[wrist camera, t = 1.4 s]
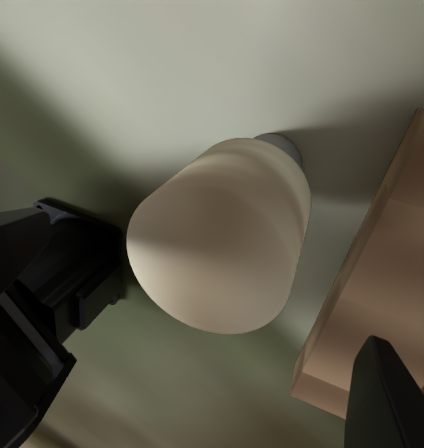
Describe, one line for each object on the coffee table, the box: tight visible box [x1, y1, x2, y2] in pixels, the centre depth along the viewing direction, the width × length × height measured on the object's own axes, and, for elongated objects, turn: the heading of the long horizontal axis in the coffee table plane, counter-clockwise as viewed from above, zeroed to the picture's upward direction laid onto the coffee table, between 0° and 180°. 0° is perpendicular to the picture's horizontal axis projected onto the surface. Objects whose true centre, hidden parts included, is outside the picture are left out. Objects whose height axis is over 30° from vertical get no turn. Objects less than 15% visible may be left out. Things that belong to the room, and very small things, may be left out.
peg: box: [127, 133, 311, 334], centre depth 13 cm, size 5×5×9 cm
